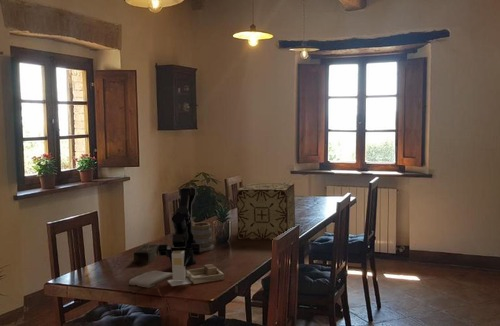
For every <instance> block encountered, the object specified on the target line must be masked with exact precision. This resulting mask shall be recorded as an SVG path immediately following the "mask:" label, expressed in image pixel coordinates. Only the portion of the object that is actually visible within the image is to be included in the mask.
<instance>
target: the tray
mask: <svg viewBox="0 0 500 326" xmlns="http://www.w3.org/2000/svg"><path fill="white" fill-rule="evenodd" d="M185 274H186V278H188V279H189V281H190V282H191V283H192V284H193V285H195V284H196V285H197V284H202V283H203V284H204V283H210V282H216V281H217V282H218V281H223V280H224V281H225V274H224V272H222V271H221V270H220V269H219V268H217V275H210V276H206V275H205V274H204V267H200V268H192V269H185Z"/></svg>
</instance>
